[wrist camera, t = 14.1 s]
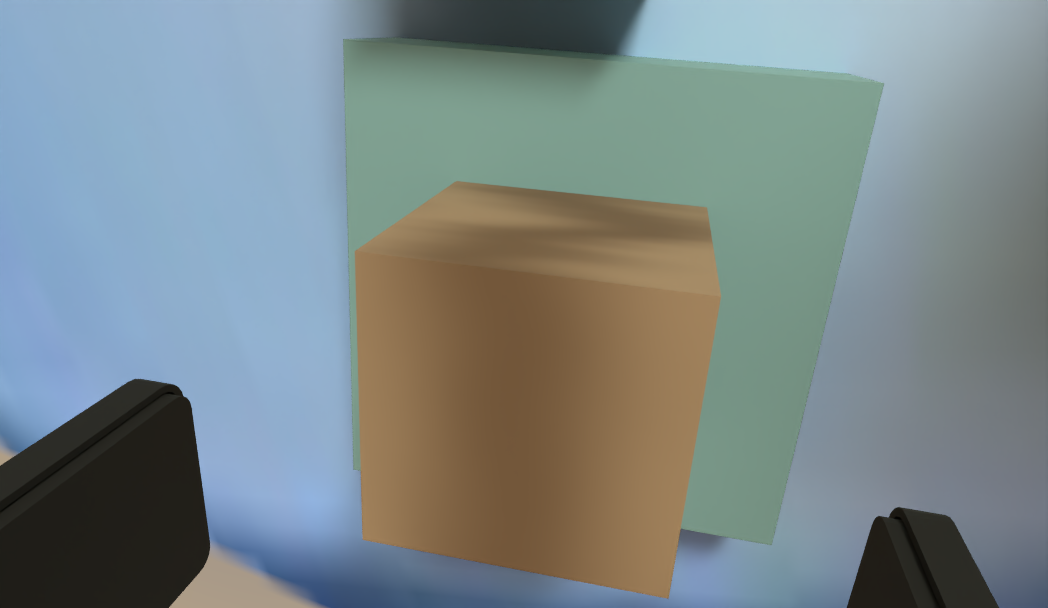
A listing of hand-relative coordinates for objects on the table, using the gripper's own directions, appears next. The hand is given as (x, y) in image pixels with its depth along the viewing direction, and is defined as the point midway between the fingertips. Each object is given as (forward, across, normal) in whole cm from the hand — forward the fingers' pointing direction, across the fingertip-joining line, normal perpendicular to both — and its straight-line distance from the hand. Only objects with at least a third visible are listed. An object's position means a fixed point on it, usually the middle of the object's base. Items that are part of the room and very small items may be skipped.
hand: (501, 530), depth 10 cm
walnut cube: (+9, 0, 0) cm, 9 cm away
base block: (+13, 0, 0) cm, 13 cm away
